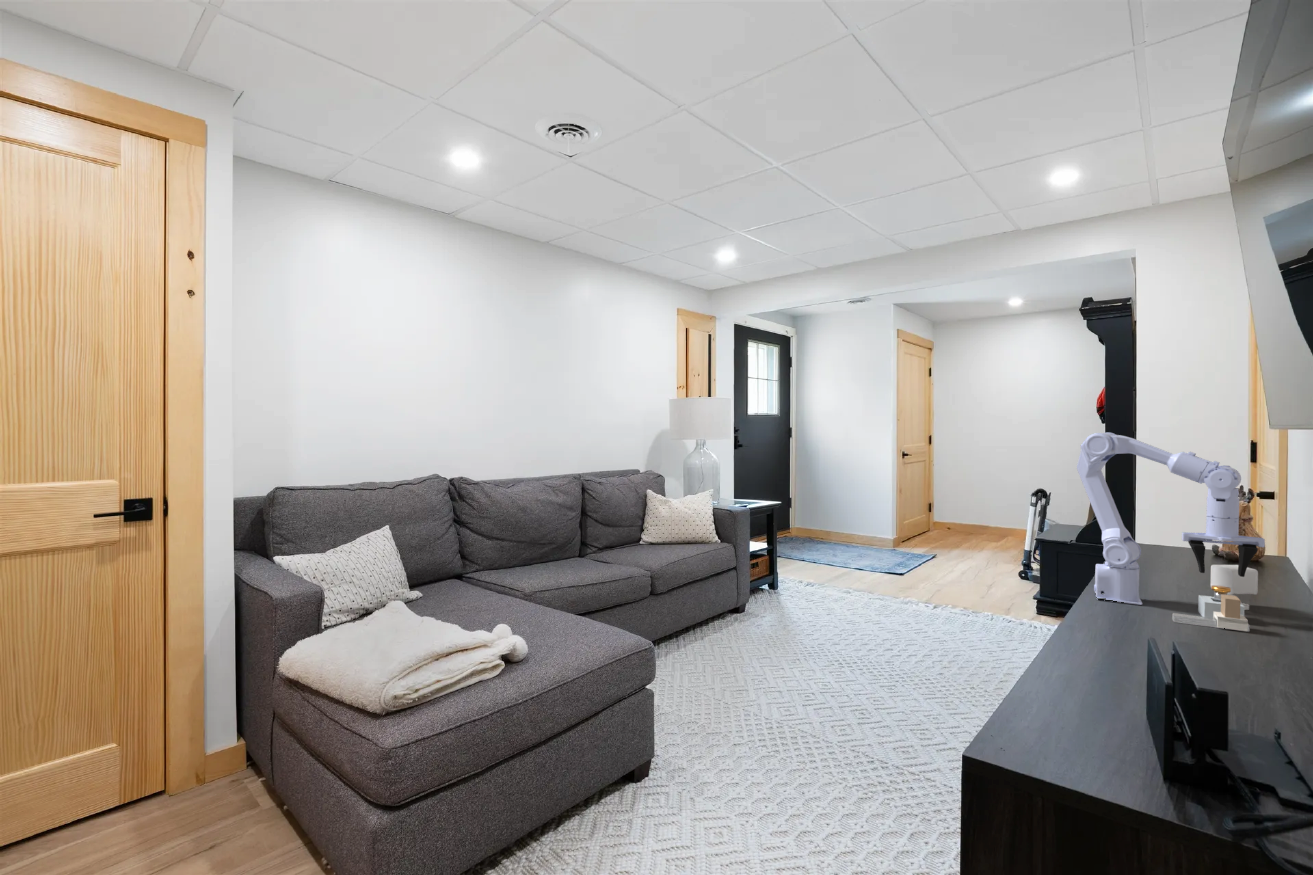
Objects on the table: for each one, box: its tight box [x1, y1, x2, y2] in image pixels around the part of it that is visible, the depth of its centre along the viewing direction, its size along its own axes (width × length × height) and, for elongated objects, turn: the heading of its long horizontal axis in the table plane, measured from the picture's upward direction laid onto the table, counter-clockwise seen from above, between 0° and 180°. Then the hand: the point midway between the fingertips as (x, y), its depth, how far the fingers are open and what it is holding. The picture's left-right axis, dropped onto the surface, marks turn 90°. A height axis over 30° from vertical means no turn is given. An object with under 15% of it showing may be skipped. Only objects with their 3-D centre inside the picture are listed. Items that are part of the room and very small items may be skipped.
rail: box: [1171, 612, 1250, 633], centre depth 143 cm, size 13×2×2 cm, turn 58°
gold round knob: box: [1210, 585, 1231, 602], centre depth 149 cm, size 3×3×4 cm
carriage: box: [1213, 594, 1249, 632], centre depth 141 cm, size 5×4×7 cm
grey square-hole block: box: [1197, 594, 1245, 618], centre depth 149 cm, size 7×7×4 cm
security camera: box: [1210, 564, 1259, 611], centre depth 157 cm, size 6×7×10 cm
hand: (1221, 573), depth 148 cm, fingers open, 6 cm apart
